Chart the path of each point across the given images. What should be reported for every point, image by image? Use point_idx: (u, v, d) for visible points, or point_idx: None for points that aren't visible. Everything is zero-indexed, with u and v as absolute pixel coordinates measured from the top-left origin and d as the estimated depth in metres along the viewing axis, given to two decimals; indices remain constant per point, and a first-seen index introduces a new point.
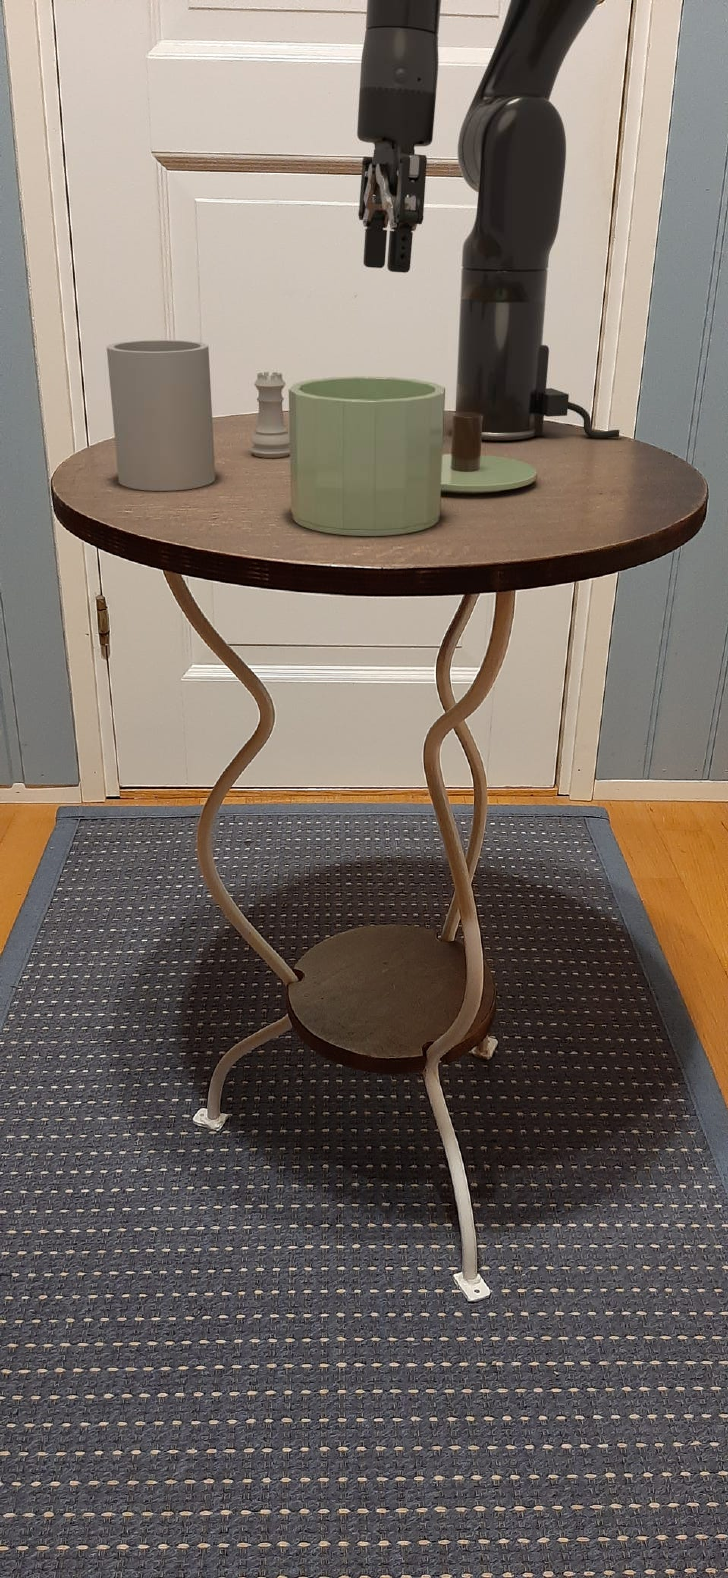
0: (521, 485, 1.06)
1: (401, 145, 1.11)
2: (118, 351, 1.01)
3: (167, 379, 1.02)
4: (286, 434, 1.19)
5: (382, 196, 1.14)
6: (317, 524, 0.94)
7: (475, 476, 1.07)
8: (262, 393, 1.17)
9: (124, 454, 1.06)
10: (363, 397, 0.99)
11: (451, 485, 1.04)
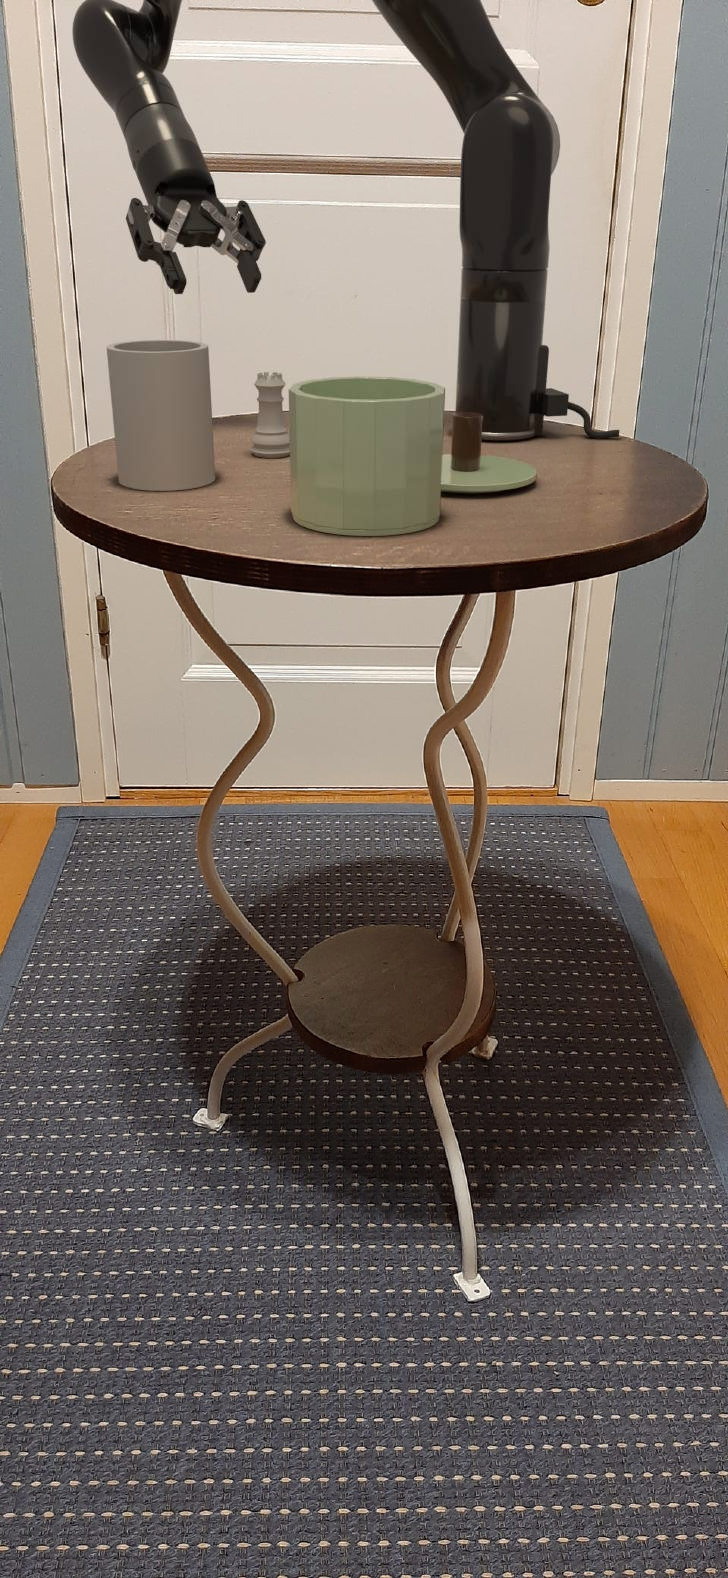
0: (521, 485, 1.06)
1: (150, 204, 1.23)
2: (118, 351, 1.01)
3: (167, 379, 1.02)
4: (286, 434, 1.19)
5: None
6: (317, 524, 0.94)
7: (475, 476, 1.07)
8: (262, 393, 1.17)
9: (124, 454, 1.06)
10: (363, 397, 0.99)
11: (451, 485, 1.04)
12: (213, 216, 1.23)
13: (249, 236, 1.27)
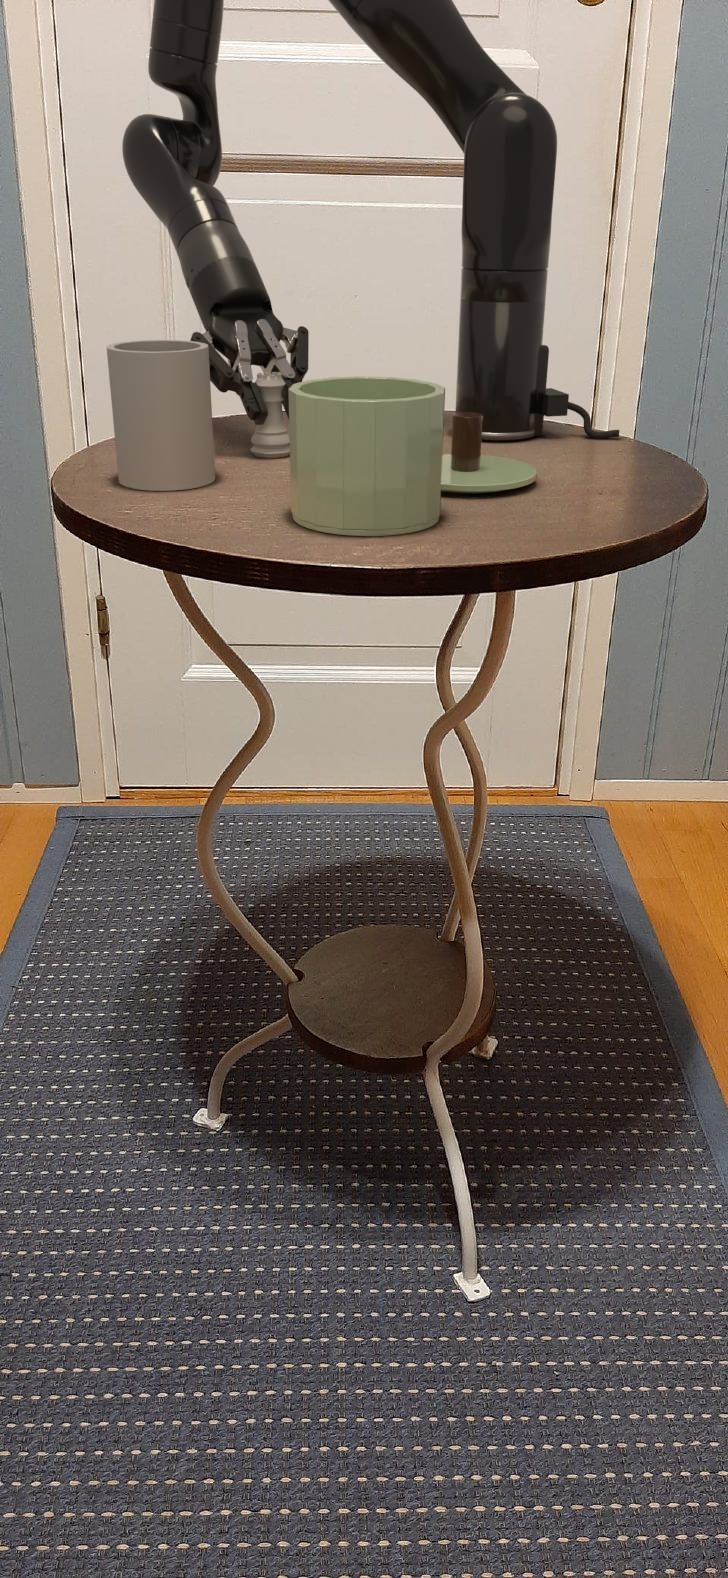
0: (521, 485, 1.06)
1: (205, 324, 1.18)
2: (118, 351, 1.01)
3: (167, 379, 1.02)
4: (286, 434, 1.19)
5: None
6: (317, 524, 0.94)
7: (475, 476, 1.07)
8: (262, 393, 1.17)
9: (124, 454, 1.06)
10: (363, 397, 0.99)
11: (451, 485, 1.04)
12: (265, 335, 1.18)
13: None
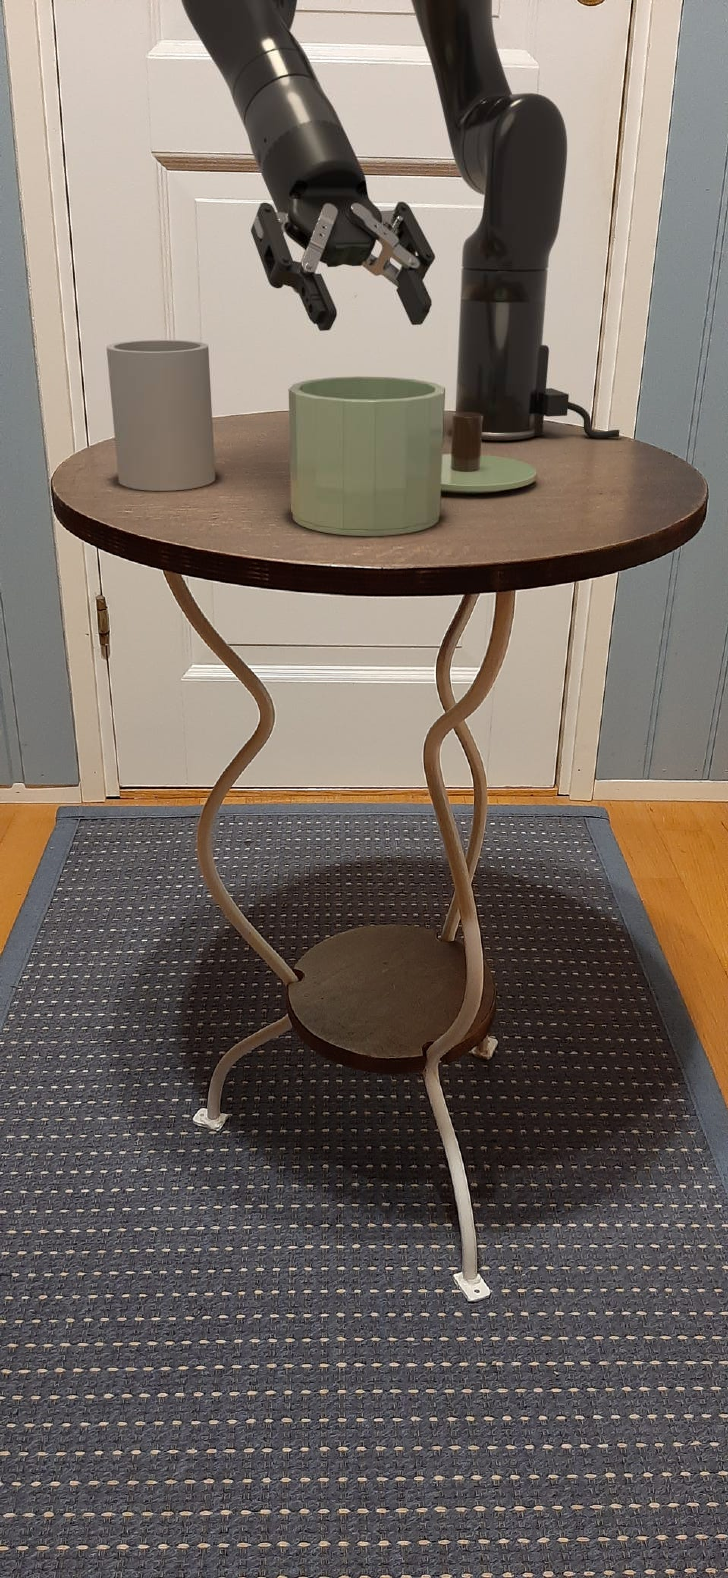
0: (521, 485, 1.06)
1: (283, 210, 0.91)
2: (118, 351, 1.01)
3: (167, 379, 1.02)
4: None
5: None
6: (317, 524, 0.94)
7: (475, 476, 1.07)
8: None
9: (124, 454, 1.06)
10: (363, 397, 0.99)
11: (451, 485, 1.04)
12: (367, 223, 0.91)
13: (411, 249, 0.95)
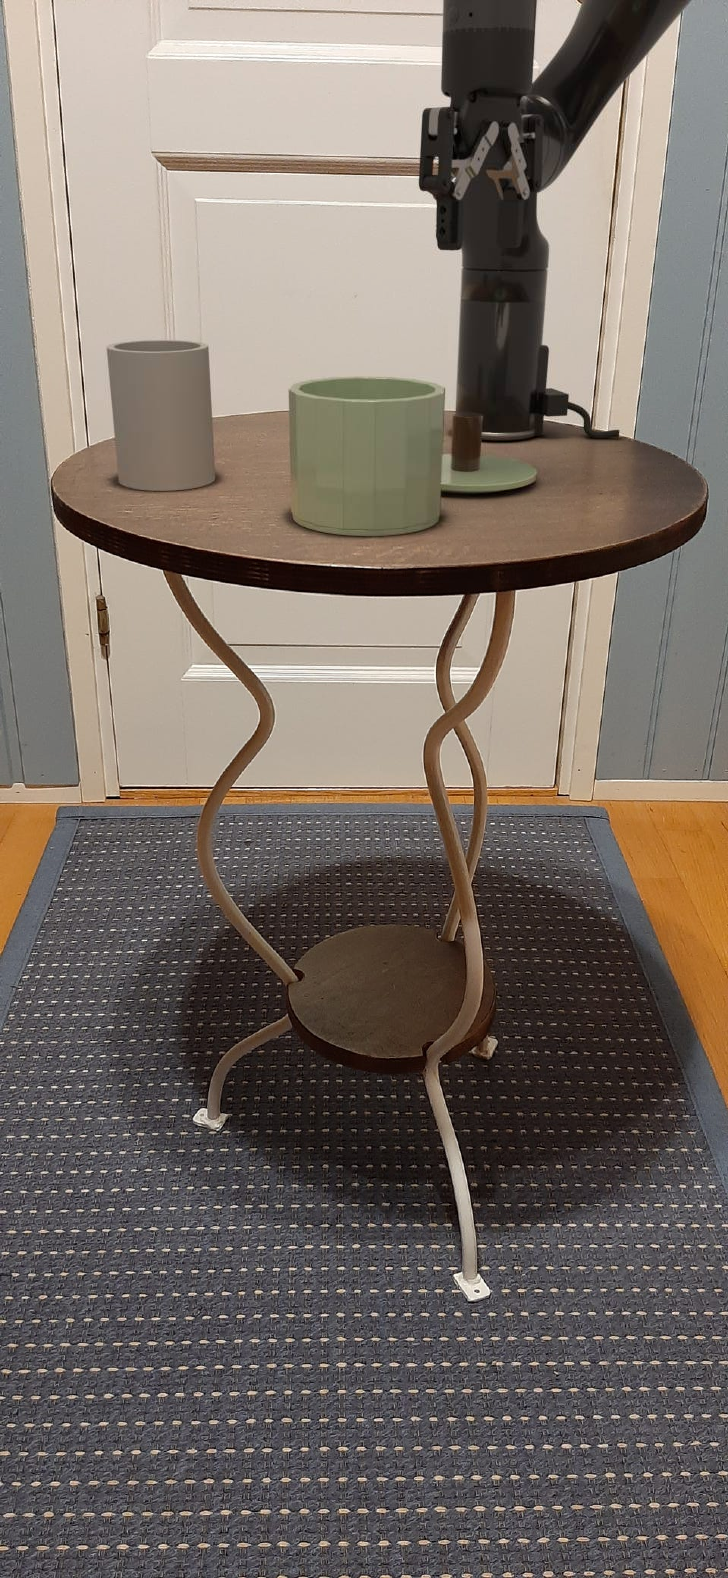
0: (521, 485, 1.06)
1: (453, 98, 0.93)
2: (118, 351, 1.01)
3: (167, 379, 1.02)
4: None
5: None
6: (317, 524, 0.94)
7: (475, 476, 1.07)
8: None
9: (124, 454, 1.06)
10: (363, 397, 0.99)
11: (451, 485, 1.04)
12: (512, 147, 0.97)
13: None
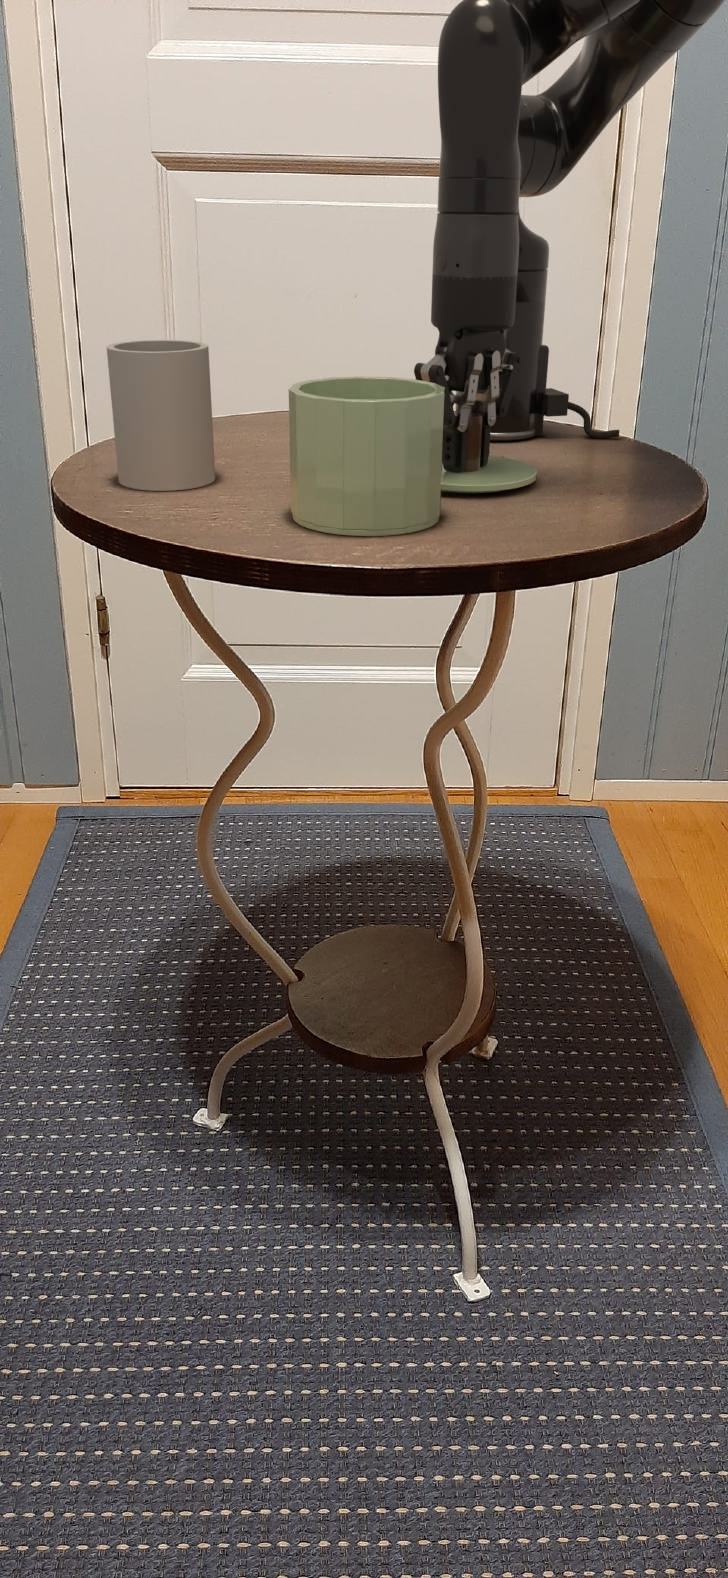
0: (521, 485, 1.06)
1: (442, 334, 1.02)
2: (118, 351, 1.01)
3: (167, 379, 1.02)
4: None
5: None
6: (317, 524, 0.94)
7: (475, 476, 1.07)
8: None
9: (124, 454, 1.06)
10: (363, 397, 0.99)
11: (451, 485, 1.04)
12: (492, 372, 1.05)
13: None
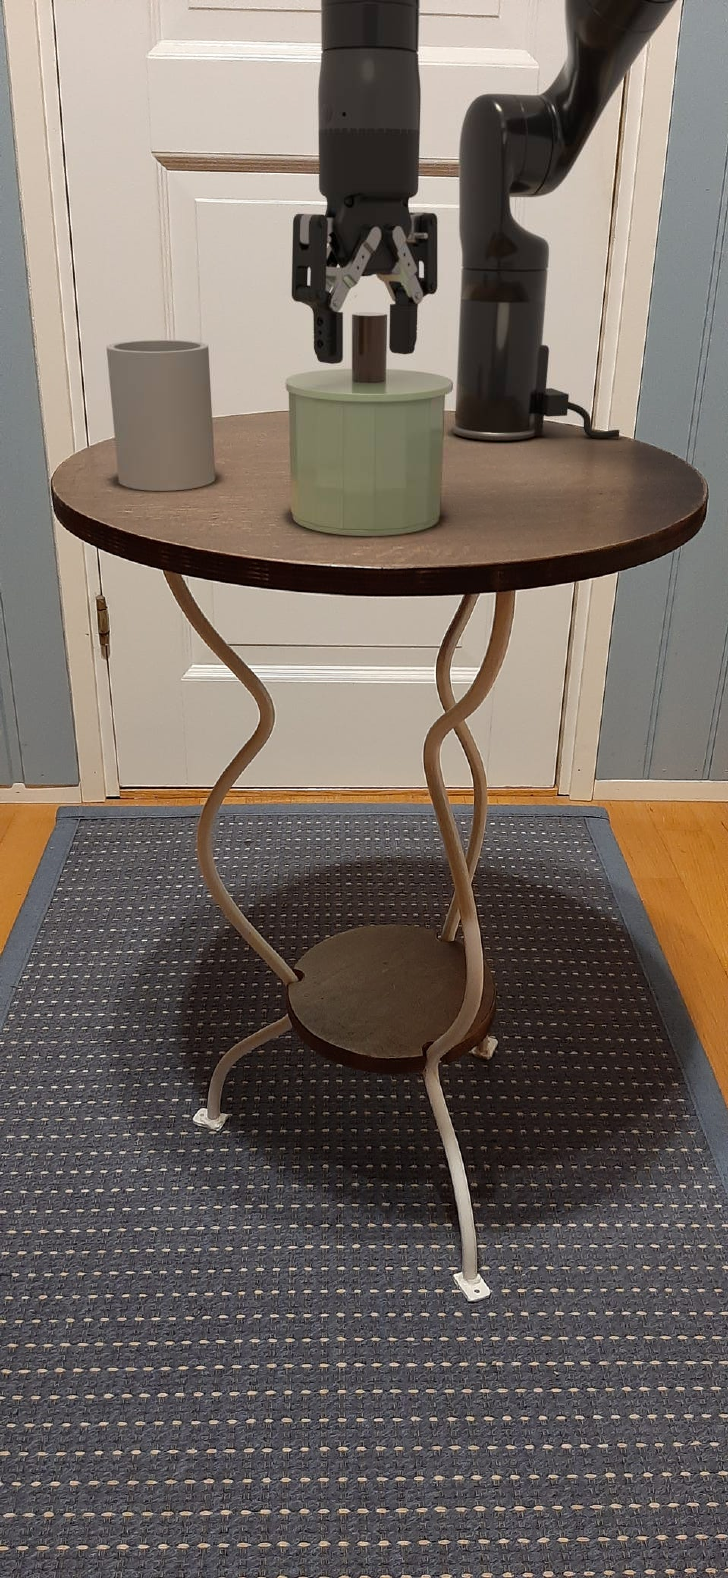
0: (431, 396, 0.89)
1: (329, 202, 0.85)
2: (118, 351, 1.01)
3: (167, 379, 1.02)
4: None
5: (327, 266, 0.89)
6: (317, 524, 0.94)
7: (377, 386, 0.90)
8: None
9: (124, 454, 1.06)
10: None
11: (346, 394, 0.87)
12: (399, 251, 0.89)
13: None
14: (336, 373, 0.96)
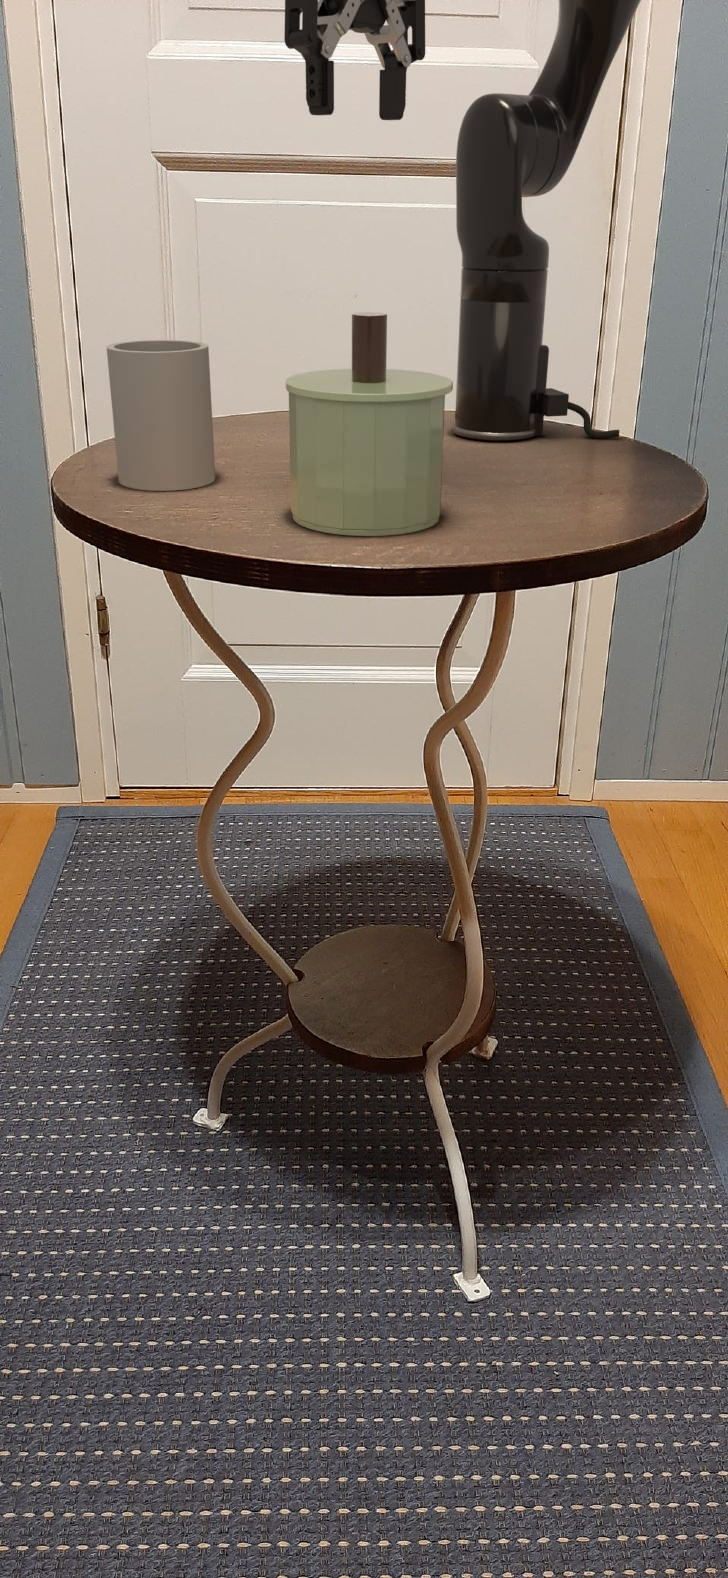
0: (431, 396, 0.89)
1: None
2: (118, 351, 1.01)
3: (167, 379, 1.02)
4: None
5: None
6: (317, 524, 0.94)
7: (377, 386, 0.90)
8: None
9: (124, 454, 1.06)
10: None
11: (346, 394, 0.87)
12: (388, 6, 0.93)
13: (407, 26, 0.97)
14: (336, 373, 0.96)
